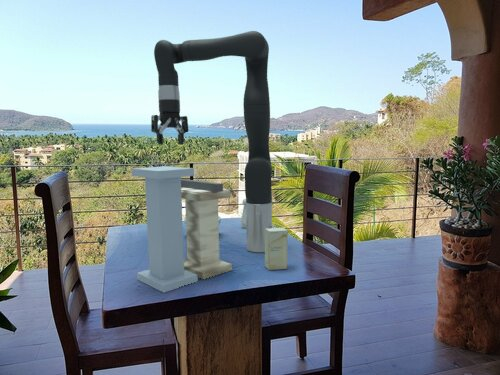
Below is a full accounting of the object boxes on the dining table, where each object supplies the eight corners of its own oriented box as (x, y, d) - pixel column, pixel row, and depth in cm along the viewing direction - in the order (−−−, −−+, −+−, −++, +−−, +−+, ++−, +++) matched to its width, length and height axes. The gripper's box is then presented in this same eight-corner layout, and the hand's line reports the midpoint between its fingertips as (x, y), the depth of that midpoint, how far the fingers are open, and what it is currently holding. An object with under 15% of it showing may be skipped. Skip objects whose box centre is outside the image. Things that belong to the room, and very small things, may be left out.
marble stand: (175, 268, 121) (172, 188, 118) (204, 260, 128) (201, 185, 125) (203, 279, 111) (200, 193, 108) (232, 270, 118) (230, 189, 115)
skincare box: (268, 270, 118) (268, 231, 116) (264, 266, 122) (263, 228, 120) (288, 268, 119) (288, 229, 118) (283, 264, 124) (283, 226, 122)
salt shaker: (252, 229, 172) (252, 200, 170) (240, 228, 173) (239, 199, 171) (255, 226, 178) (254, 198, 176) (242, 225, 179) (242, 197, 177)
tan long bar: (167, 185, 128) (167, 178, 128) (173, 184, 129) (172, 177, 129) (217, 192, 109) (216, 184, 109) (223, 191, 111) (222, 183, 110)
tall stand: (137, 279, 112) (131, 168, 108) (170, 270, 119) (166, 166, 115) (163, 292, 102) (158, 171, 98) (197, 281, 109) (193, 168, 105)
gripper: (157, 97, 133) (159, 144, 135) (191, 99, 142) (192, 144, 144) (146, 99, 138) (148, 144, 140) (179, 101, 148) (181, 144, 150)
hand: (170, 144), depth 142 cm, fingers open, 8 cm apart
